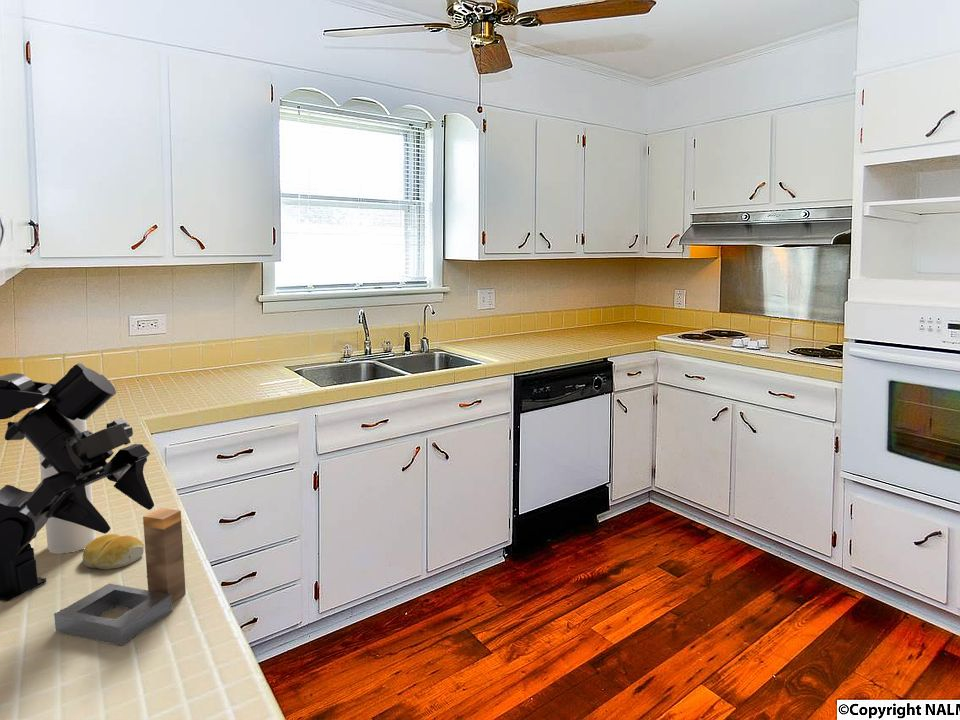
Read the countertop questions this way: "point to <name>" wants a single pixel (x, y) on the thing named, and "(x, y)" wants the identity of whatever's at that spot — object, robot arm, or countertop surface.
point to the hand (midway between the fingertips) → (131, 519)
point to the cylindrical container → (63, 532)
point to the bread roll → (112, 551)
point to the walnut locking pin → (164, 552)
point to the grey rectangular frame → (121, 630)
